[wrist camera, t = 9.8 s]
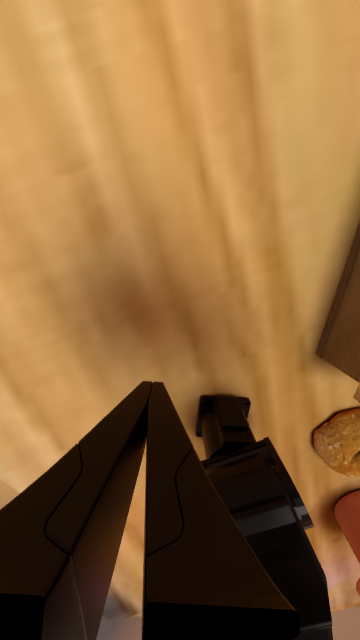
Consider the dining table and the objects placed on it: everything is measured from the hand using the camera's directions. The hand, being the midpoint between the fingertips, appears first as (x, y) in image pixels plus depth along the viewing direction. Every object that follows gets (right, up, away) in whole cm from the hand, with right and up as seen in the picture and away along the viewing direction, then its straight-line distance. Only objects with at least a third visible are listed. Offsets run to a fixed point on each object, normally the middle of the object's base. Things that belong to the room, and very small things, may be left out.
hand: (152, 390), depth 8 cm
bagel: (+25, -13, +19) cm, 34 cm away
